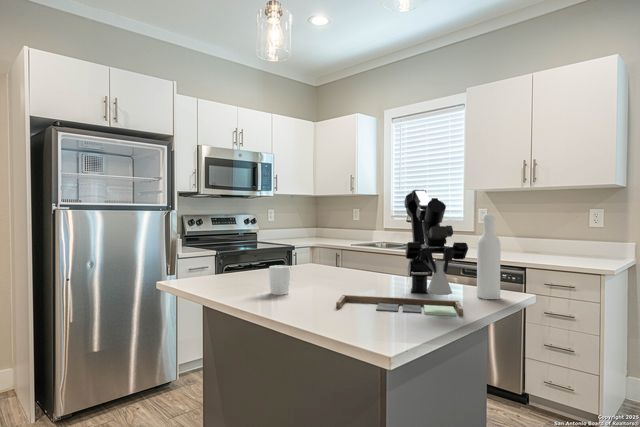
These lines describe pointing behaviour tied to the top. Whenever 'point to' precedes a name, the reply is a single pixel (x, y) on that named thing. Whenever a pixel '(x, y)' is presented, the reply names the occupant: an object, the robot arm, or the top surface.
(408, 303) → the box
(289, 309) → the top surface
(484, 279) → the bottle
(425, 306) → the pad
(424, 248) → the robot arm
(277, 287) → the white cup
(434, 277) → the flask
